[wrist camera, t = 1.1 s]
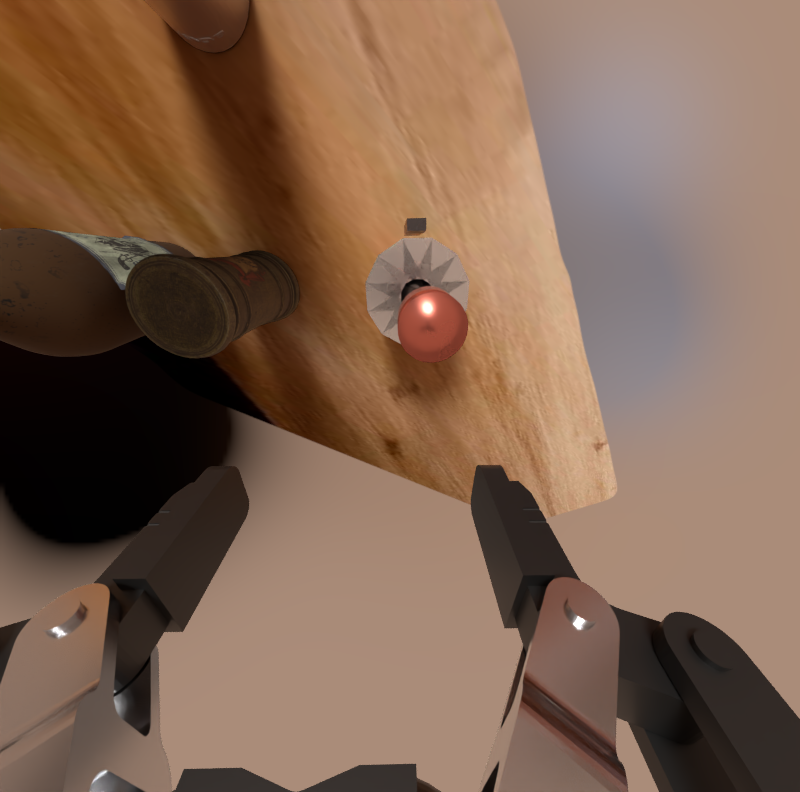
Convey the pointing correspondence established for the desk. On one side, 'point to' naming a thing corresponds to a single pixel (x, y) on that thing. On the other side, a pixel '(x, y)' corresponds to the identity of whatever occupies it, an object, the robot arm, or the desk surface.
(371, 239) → the desk surface
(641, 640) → the robot arm
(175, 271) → the container
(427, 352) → the plunger
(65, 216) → the desk surface
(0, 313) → the olive oil
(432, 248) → the press carafe
